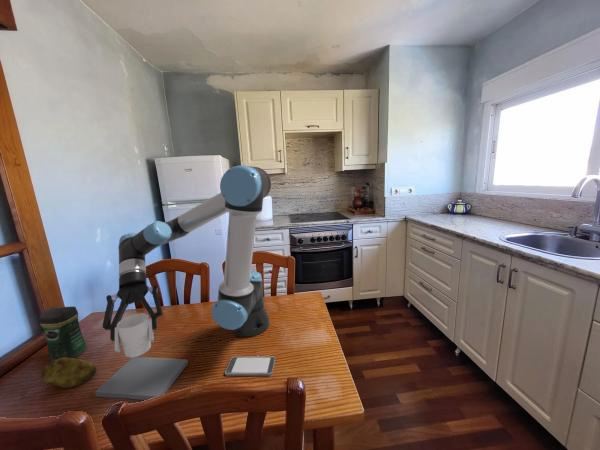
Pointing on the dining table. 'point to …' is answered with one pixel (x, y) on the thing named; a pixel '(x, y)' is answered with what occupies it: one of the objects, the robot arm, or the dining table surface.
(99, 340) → the dining table surface
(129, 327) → the white cup
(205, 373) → the dining table surface
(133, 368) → the grey board
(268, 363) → the smartphone
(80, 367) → the potato
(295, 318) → the dining table surface
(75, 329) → the coffee jar
